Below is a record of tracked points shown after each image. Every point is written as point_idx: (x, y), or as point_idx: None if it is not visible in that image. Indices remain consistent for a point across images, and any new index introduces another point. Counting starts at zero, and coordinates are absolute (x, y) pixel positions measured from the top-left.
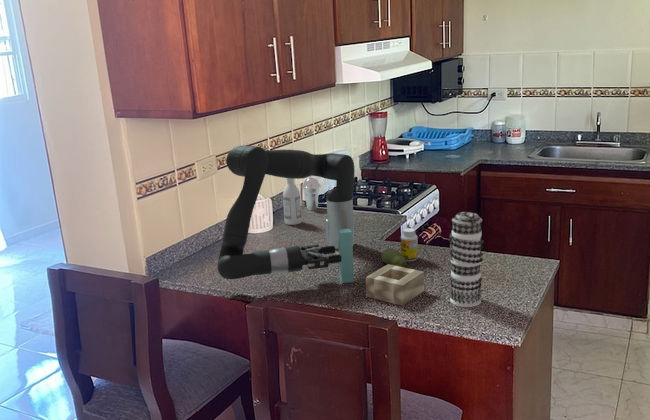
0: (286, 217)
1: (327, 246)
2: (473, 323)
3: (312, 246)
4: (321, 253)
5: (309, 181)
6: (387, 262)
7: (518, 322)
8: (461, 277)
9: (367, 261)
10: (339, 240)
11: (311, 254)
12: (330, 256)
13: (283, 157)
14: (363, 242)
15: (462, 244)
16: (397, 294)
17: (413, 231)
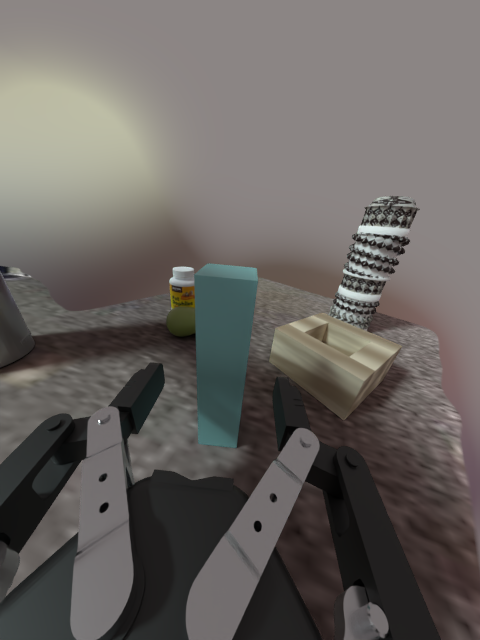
0: None
1: (135, 384)
2: (417, 340)
3: (30, 470)
4: (127, 441)
5: None
6: (193, 332)
7: (396, 319)
8: (380, 296)
9: (141, 352)
10: (228, 322)
11: (257, 583)
12: (297, 419)
13: None
14: (44, 326)
15: (400, 246)
16: (388, 367)
17: (193, 269)
